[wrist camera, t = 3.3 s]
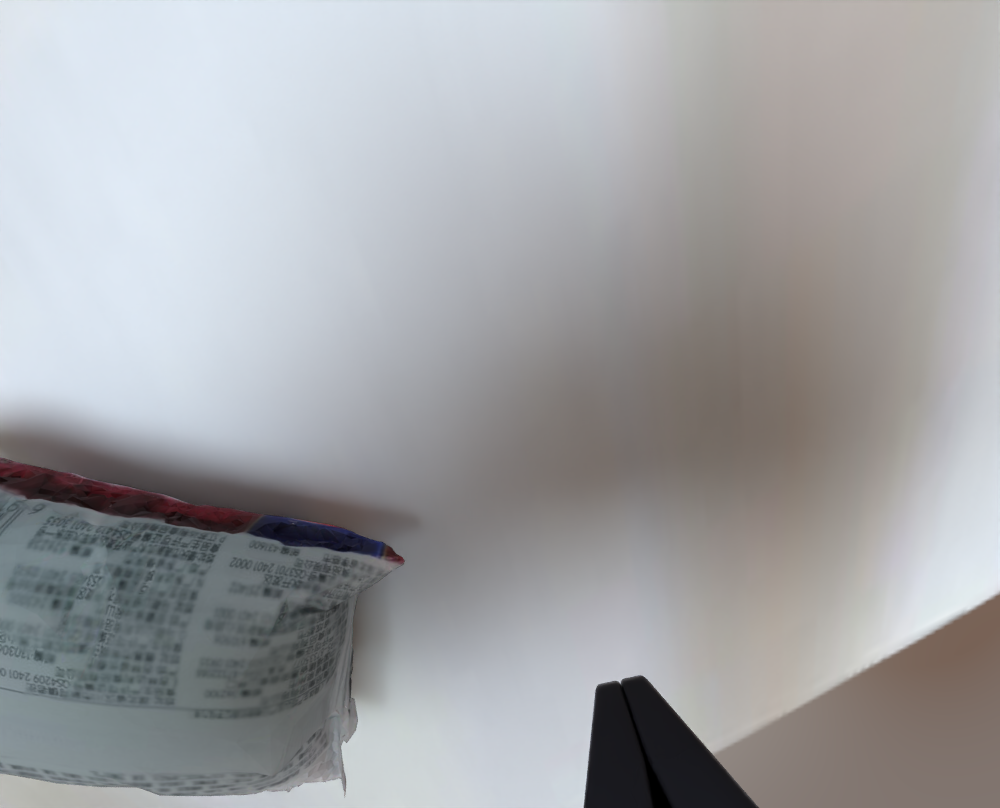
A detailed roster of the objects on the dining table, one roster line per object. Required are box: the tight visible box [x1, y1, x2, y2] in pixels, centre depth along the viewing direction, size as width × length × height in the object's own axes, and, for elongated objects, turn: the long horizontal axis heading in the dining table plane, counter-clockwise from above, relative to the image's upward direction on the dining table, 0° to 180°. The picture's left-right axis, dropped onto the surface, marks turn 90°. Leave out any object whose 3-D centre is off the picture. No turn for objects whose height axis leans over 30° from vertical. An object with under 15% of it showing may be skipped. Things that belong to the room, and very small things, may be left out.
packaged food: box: [0, 458, 405, 796], centre depth 12 cm, size 9×12×5 cm
